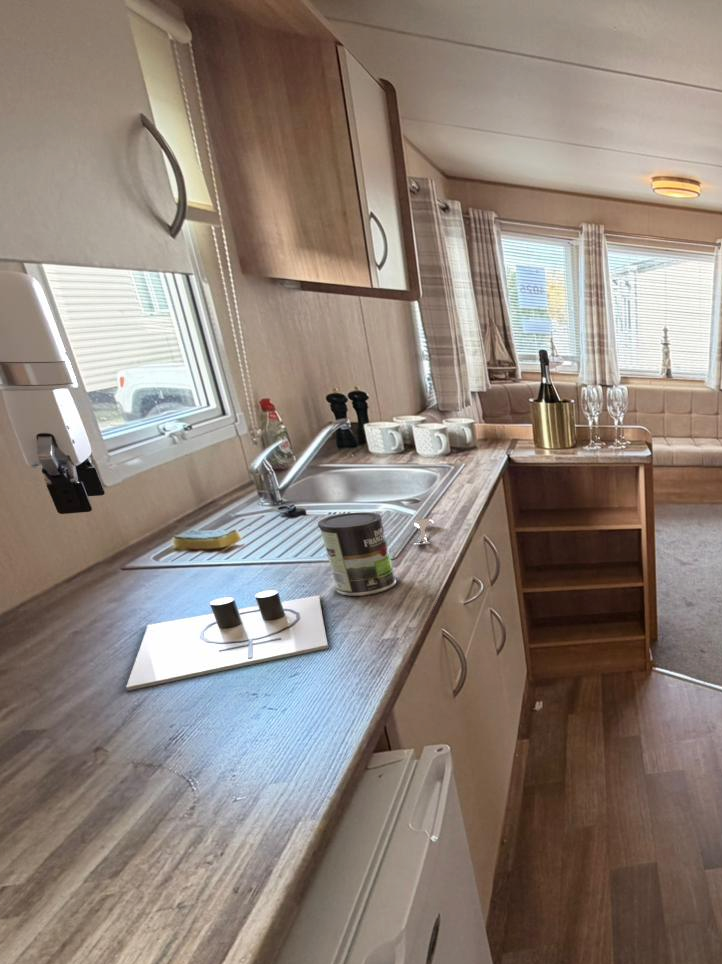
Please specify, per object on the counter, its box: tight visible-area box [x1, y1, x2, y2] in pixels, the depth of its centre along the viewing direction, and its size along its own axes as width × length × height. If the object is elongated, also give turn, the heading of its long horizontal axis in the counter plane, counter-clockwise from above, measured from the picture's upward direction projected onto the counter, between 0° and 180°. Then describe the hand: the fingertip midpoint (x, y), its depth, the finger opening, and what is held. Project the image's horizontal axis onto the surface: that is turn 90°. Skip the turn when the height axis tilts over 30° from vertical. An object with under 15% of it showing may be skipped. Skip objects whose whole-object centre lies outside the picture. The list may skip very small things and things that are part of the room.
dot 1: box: [209, 597, 242, 629], centre depth 109 cm, size 3×3×4 cm
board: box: [125, 594, 329, 692], centre depth 107 cm, size 24×24×1 cm
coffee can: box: [317, 511, 397, 597], centre depth 126 cm, size 10×10×14 cm
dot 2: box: [254, 589, 285, 621], centre depth 113 cm, size 3×3×4 cm
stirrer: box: [411, 518, 434, 546], centre depth 155 cm, size 20×4×5 cm
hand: (83, 503), depth 89 cm, fingers open, 9 cm apart
